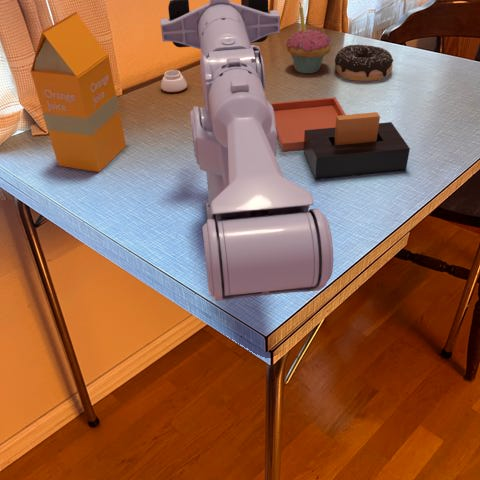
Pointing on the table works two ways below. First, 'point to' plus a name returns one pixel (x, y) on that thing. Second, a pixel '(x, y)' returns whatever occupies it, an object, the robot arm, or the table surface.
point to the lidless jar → (173, 81)
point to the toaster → (355, 154)
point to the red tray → (303, 119)
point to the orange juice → (77, 96)
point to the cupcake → (308, 47)
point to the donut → (363, 62)
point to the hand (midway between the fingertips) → (214, 1)
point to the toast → (356, 128)
